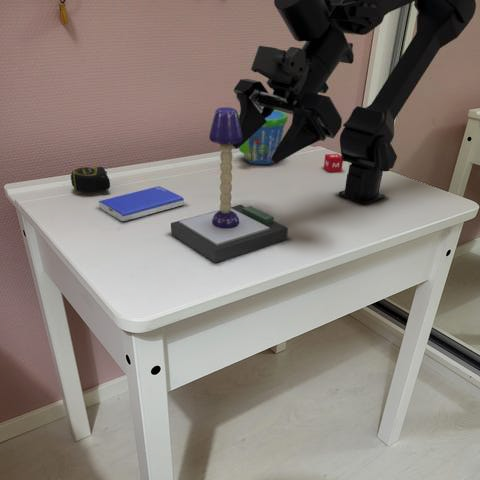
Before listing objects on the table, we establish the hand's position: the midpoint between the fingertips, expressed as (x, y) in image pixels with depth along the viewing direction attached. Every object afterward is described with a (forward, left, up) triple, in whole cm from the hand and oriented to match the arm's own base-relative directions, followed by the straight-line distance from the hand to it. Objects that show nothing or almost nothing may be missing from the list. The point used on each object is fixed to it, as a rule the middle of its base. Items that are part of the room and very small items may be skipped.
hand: (253, 153), depth 73 cm
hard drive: (+9, -19, -12) cm, 25 cm away
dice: (-36, -15, -12) cm, 41 cm away
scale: (+4, 0, -12) cm, 13 cm away
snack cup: (-27, -29, -12) cm, 41 cm away
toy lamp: (+5, 0, -10) cm, 11 cm away
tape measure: (+12, -32, -12) cm, 36 cm away
